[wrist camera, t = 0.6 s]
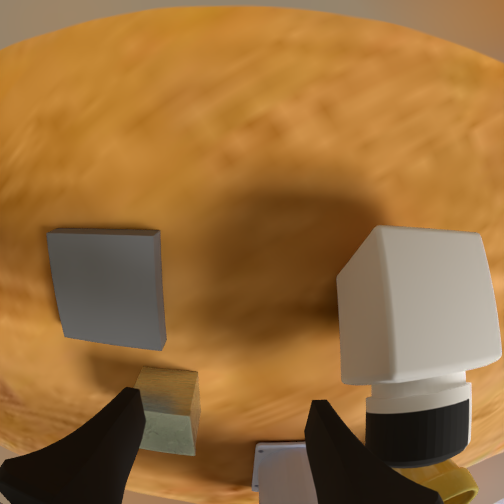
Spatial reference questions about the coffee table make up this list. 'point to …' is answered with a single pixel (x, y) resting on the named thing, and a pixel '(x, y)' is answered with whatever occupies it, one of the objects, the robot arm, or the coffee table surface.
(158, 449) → the grey green cube
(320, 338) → the coffee table surface
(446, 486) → the plant pot
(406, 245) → the medicine bottle
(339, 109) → the coffee table surface
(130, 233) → the block
